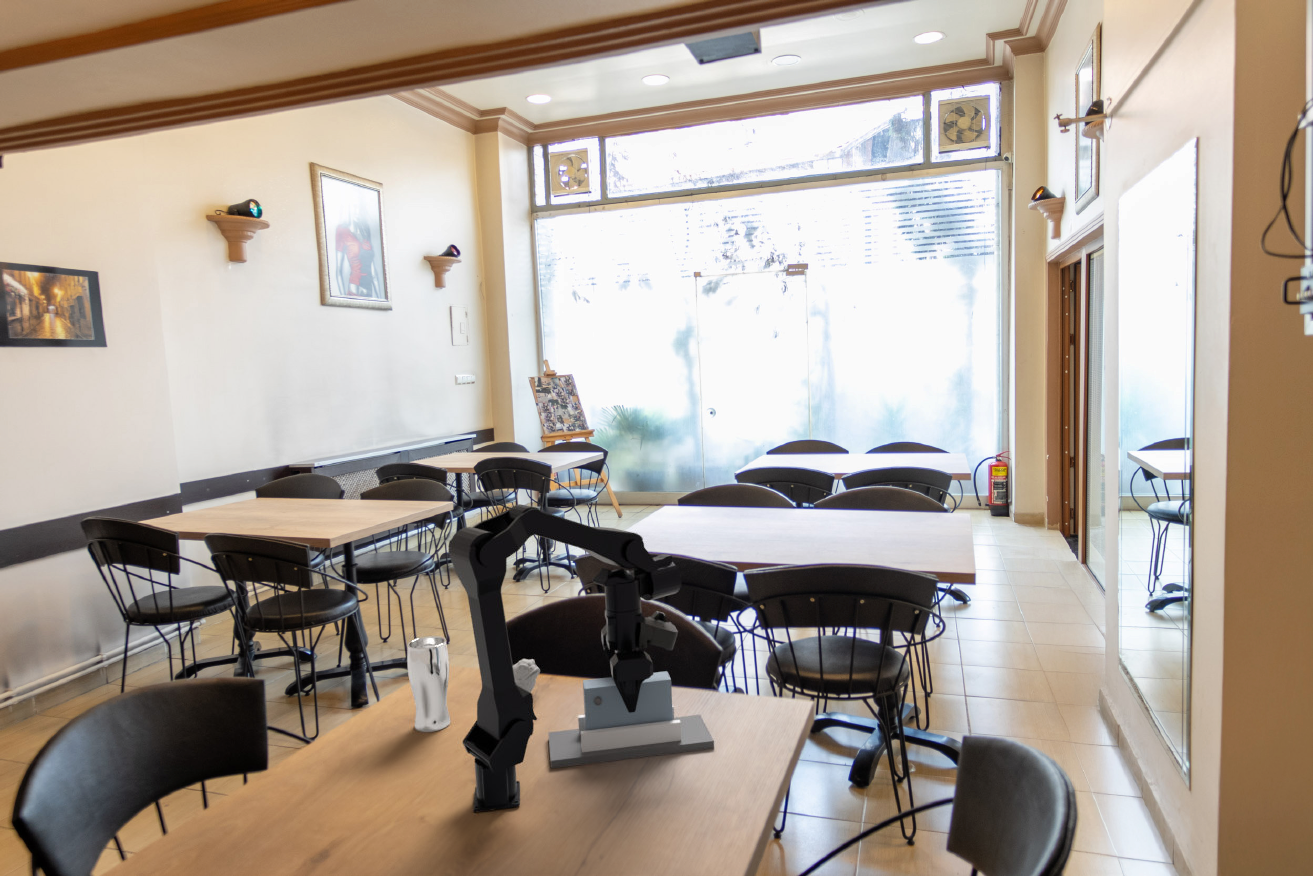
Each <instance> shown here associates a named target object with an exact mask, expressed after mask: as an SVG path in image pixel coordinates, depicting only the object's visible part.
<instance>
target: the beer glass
mask: <svg viewBox="0 0 1313 876" xmlns="http://www.w3.org/2000/svg"><path fill="white" fill-rule="evenodd" d="M406 647H407V654H406V655H407V659H406V660H407V672H408V673H407V675H408V678H409V679H408V680H409V685H410V688H411V692H412V697H413V700H414V703H415V718H414V719H415V720H414V729H415V730H416V731H418V732H419V733H434V732H437V731H441V730H444V729H445V728H447V727H448V726H449V725H450V723H451V717H450V713H449V710H448V705H447V704H448V703H447V702H448V700H447V699H448V698H447V696H448V687H449V679H450V661H449V660H450V659H449V652H448V651H449V650H448V646H447V639H446V638H445V637H444V636H440V635H439V636H437V635H429V636H427V635H426V636H423V637H417V638H415V639H413V640H411V641H409V642H408V643H407V646H406Z"/></svg>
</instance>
